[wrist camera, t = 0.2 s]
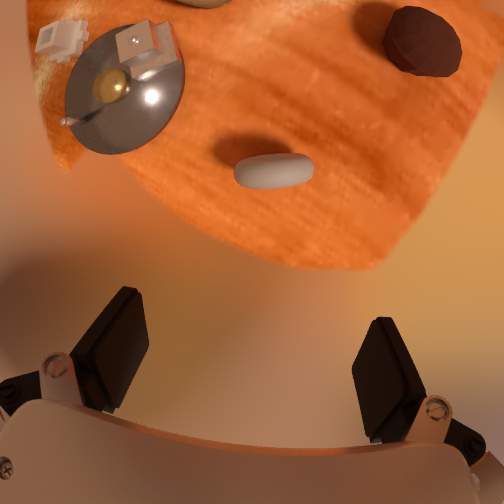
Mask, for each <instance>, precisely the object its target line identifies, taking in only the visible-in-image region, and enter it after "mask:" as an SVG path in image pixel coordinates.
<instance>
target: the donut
mask: <svg viewBox="0 0 504 504" xmlns="http://www.w3.org/2000/svg"><path fill="white" fill-rule="evenodd" d="M313 174H314V163H313V161H312V160H311V159H310V158H309V157H308V156H306V155H303V154H298V153H277V154H266V155H258V156H253V157H249V158H245V159H242V160H241V161H239V162H238V163H237V164H236V165H235V167H234V177H235V180H236V181H237V183H238V184H240V185H241V186H244V187H247V188H252V189H277V188H286V187H291V186H296V185H299V184H302V183H304V182H306V181H308V180H309V179H310V178H311V177H312V176H313Z"/></svg>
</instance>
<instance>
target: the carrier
mask: <svg viewBox="0 0 504 504" xmlns="http://www.w3.org/2000/svg"><path fill="white" fill-rule="evenodd" d="M184 84H185V65H184V61H183V57H182V54H181V52H180V49H179V48H178V45H177V40H176V36H175V32H174V28H173V25H172V24H171V23H170V22H169V21H168V22H165V23H163V24H160V25H158V26H157V25H155V24H154V23H153V22H152V21H150V20H149V19H146V20H144V21H142V22H140V23H138V24H131V25H125V26H121V27H118V28H115V29H113V30H111V31H109V32H107V33H105V34H103V35H102V36H100V37H99V38H98V39H96V40H95V41H94V42H93V43H92V44H91V45H90V46H89V47H88V48H87V49H86V50H85V51H84V52H83V54H82V55H81V56H80V58H79V59H78V61H77V62H76V64H75V66H74V68H73V70H72V72H71V75H70V77H69V80H68V84H67V88H66V94H65V111H66V117H64V118H62V119H61V121H60V125H61V126H70V129H71V131H72V132H73V134H74V136H75V137H76V138H77V139H78V141H79V142H80V143H81V144H83V145H84V146H85V147H87V148H88V149H90V150H92V151H94V152H97V153H101V154H108V155H113V154H121V153H125V152H130V151H132V150H135V149H138V148H139V147H141V146H143V145H145V144H147V143H148V142H149V141H151V140H152V139H153V138H155V137H156V136H157V135H158V134H159V133H160V132H161V131H162V130H163V129H164V128H165V126H166V125H167V124H168V122H169V121H170V120H171V118H172V116H173V115H174V113H175V111H176V109H177V107H178V105H179V103H180V100H181V97H182V94H183V89H184Z"/></svg>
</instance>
